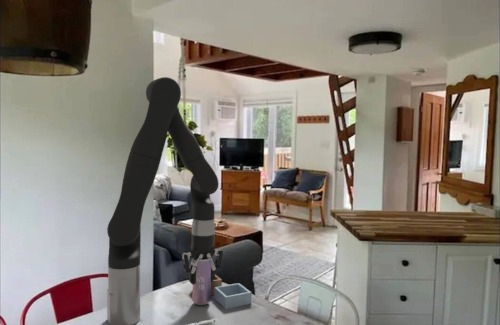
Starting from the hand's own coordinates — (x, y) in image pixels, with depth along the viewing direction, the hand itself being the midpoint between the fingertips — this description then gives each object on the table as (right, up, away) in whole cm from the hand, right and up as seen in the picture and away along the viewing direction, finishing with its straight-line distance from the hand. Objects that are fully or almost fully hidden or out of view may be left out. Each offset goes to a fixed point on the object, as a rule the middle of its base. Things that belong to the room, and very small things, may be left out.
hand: (201, 282), depth 125 cm
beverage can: (0, -7, 0) cm, 7 cm away
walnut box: (0, -8, +11) cm, 13 cm away
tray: (+10, -8, +3) cm, 13 cm away
